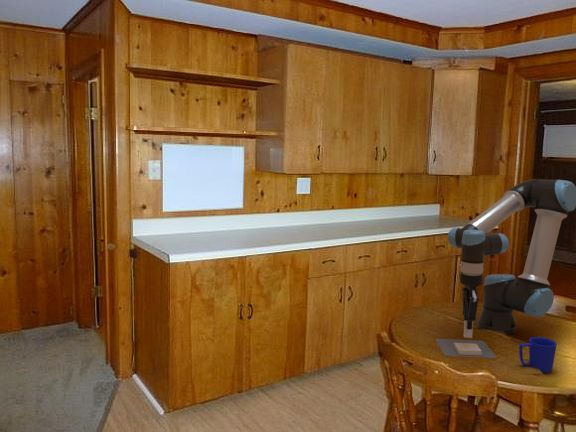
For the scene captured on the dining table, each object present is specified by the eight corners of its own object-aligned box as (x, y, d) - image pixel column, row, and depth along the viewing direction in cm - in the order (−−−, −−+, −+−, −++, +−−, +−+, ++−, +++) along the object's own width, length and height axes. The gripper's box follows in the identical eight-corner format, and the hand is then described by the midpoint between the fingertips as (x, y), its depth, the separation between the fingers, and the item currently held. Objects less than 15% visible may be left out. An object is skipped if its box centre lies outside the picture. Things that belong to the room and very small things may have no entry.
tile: (476, 343, 178) (481, 351, 172) (475, 348, 179) (481, 355, 172) (453, 342, 179) (458, 350, 172) (453, 347, 179) (458, 354, 172)
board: (483, 344, 186) (483, 340, 186) (496, 361, 170) (497, 357, 170) (435, 342, 188) (435, 338, 188) (444, 359, 172) (444, 355, 172)
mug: (511, 365, 168) (513, 337, 167) (544, 364, 169) (546, 336, 168) (525, 375, 160) (527, 346, 159) (559, 374, 161) (562, 345, 160)
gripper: (456, 268, 179) (452, 330, 182) (465, 277, 166) (461, 343, 169) (476, 269, 178) (473, 330, 181) (487, 278, 166) (483, 344, 169)
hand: (467, 336), depth 175 cm, fingers closed
